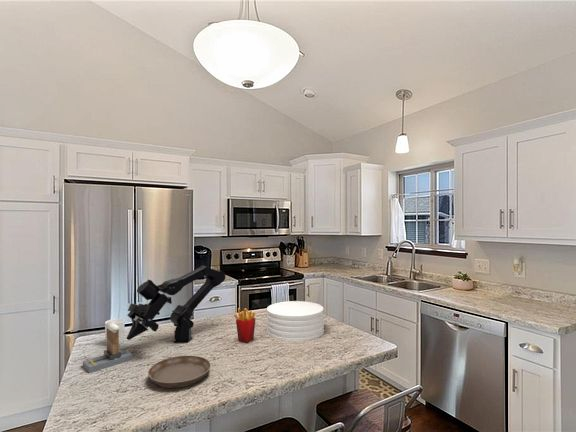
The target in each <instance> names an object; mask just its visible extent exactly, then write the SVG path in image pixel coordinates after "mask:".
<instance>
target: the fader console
mask: <svg viewBox="0 0 576 432" xmlns="http://www.w3.org/2000/svg"><path fill="white" fill-rule="evenodd" d="M119 351H120V352H121V357H118V358H115V359H111V360H110V359H108V358H107V357H106V356H105V355H104V354H103V355H99V356H96V357H92V358H88V359H86V360H82V367H83V369H84V370H85V371H87V373H89V374H90V373H94V372H97V371H101V370H103V369H107V368H110V367H113V366H117V365H120V364H123V363H126V362H129V361H132V360H133V357H134V356H133V354H132V353H131V352H129V351H128V350H127V349H121V350H119Z"/></svg>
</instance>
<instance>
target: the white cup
mask: <svg viewBox="0 0 576 432" xmlns="http://www.w3.org/2000/svg"><path fill="white" fill-rule="evenodd" d="M125 321H126V320H125V318H111V319H108V320H106V321H105V322H104V332H105V334H104V335H105V345H106V346H107V328H106V324H107V323H108V322H112V323H114V324H116V325H117V326H119V345H121V343H122V344H123V343H124V335H125V323H126V322H125Z"/></svg>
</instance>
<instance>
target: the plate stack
mask: <svg viewBox="0 0 576 432" xmlns="http://www.w3.org/2000/svg"><path fill="white" fill-rule="evenodd" d="M324 311H325V310H324V307H323V306H322V305H321V304H319V303H315V302H311V301H303V300H292V301H291V300H290V301H281V302H276V303H272V304H270V305H268V306H267V308H266V324H267V325H266V333H267V335H269V337H271V338H273V339H276V340H279V341H287V342H304V341H311V340H314V339H318V338H319V337H321V336H323V335H324V332H325V328H324V327H325V326H324V324H325V323H324V321H325V318H324V317H325V316H324V315H325V314H324Z"/></svg>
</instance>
